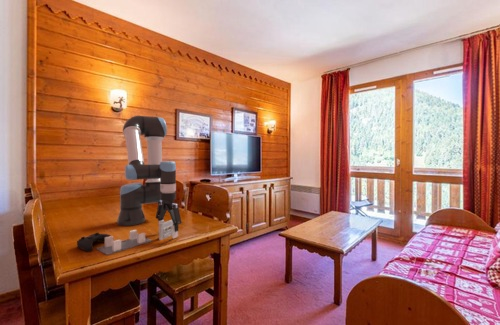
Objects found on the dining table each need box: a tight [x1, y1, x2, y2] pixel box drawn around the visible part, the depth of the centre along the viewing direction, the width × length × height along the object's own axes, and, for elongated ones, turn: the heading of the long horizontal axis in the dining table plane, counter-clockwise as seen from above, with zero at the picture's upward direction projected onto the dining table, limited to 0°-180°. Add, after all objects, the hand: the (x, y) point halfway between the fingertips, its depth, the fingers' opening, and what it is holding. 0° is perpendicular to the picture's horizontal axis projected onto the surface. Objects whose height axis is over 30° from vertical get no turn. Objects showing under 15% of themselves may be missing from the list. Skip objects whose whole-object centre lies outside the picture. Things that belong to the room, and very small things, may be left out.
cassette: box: [158, 219, 176, 241], centre depth 123 cm, size 12×2×8 cm, turn 157°
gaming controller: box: [76, 232, 112, 253], centre depth 110 cm, size 14×6×10 cm
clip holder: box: [96, 229, 153, 256], centre depth 110 cm, size 10×20×4 cm, turn 144°
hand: (168, 235), depth 123 cm, fingers open, 11 cm apart
